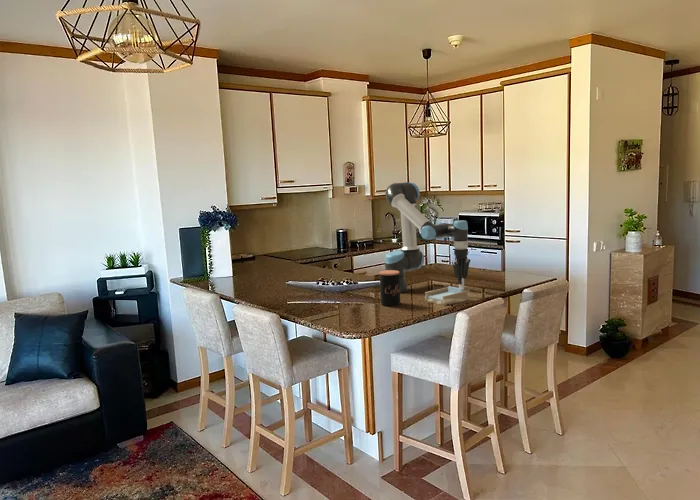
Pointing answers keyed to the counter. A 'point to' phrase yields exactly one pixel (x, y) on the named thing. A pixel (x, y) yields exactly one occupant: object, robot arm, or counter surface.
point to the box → (446, 297)
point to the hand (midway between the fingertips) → (461, 289)
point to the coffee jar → (390, 287)
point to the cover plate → (445, 293)
